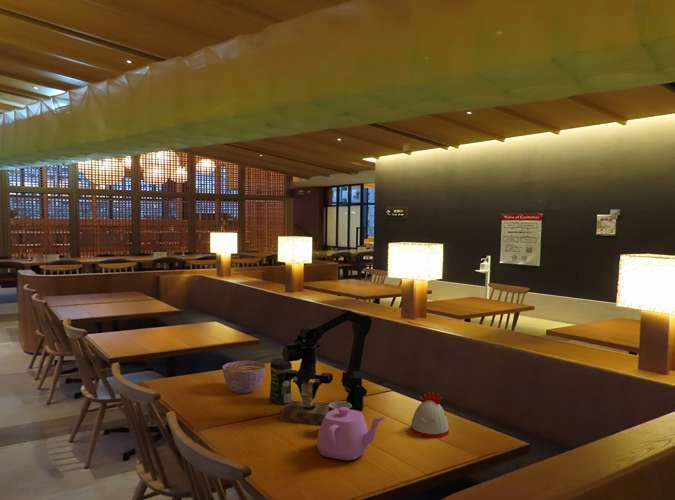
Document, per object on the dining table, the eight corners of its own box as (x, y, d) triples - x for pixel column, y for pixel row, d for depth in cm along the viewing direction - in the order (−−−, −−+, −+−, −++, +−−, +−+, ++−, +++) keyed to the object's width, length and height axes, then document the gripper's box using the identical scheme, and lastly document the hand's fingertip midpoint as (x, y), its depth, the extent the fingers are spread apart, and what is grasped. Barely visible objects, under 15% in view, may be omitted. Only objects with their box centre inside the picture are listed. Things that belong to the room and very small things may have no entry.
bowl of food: (275, 389, 247) (275, 364, 247) (245, 400, 230) (246, 374, 230) (242, 382, 258) (243, 358, 257) (212, 392, 241) (212, 367, 240)
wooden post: (314, 404, 213) (315, 382, 212) (311, 407, 209) (311, 385, 208) (304, 403, 214) (304, 381, 213) (301, 406, 210) (301, 384, 209)
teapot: (304, 462, 170) (305, 416, 170) (329, 439, 190) (330, 397, 189) (372, 476, 162) (373, 427, 162) (391, 449, 182) (392, 406, 181)
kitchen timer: (445, 440, 191) (446, 399, 190) (407, 434, 195) (408, 394, 195) (451, 427, 204) (452, 388, 203) (415, 422, 208) (416, 384, 208)
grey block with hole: (333, 414, 215) (333, 404, 215) (325, 425, 203) (325, 414, 203) (291, 410, 219) (291, 400, 219) (280, 420, 208) (281, 410, 208)
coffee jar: (266, 400, 232) (267, 357, 231) (282, 397, 236) (283, 355, 236) (278, 406, 224) (278, 362, 223) (294, 403, 229) (294, 360, 228)
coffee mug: (334, 438, 191) (335, 410, 191) (323, 429, 199) (324, 403, 198) (362, 432, 196) (363, 406, 196) (351, 425, 204) (351, 399, 204)
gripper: (279, 362, 205) (278, 402, 206) (325, 365, 200) (325, 406, 201) (288, 355, 216) (288, 393, 216) (333, 359, 211) (332, 397, 212)
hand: (308, 398), depth 211 cm, fingers closed on wooden post, 4 cm apart
